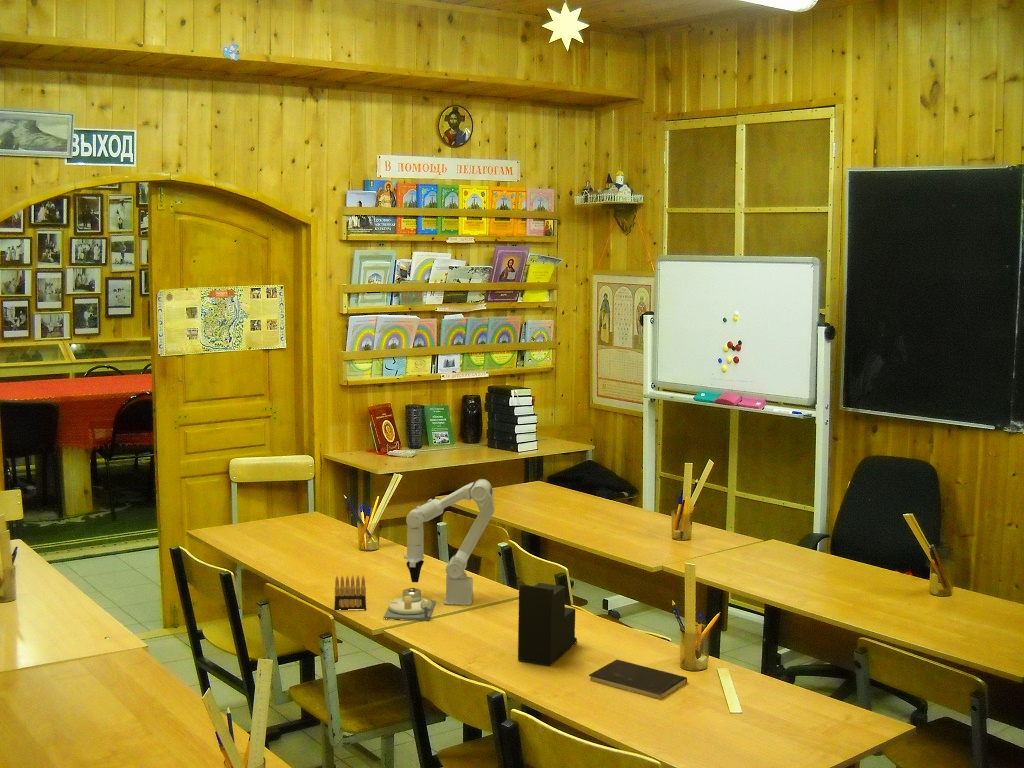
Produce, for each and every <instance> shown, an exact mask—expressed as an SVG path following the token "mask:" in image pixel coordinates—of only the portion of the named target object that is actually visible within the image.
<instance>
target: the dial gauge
mask: <svg viewBox="0 0 1024 768" xmlns="http://www.w3.org/2000/svg"><path fill="white" fill-rule="evenodd" d="M429 600H430V599H428V600H423V601H422V602H421V608H422V610H424V617H428V610H430V609H431V606H432V604H431V602H430V601H429Z"/></svg>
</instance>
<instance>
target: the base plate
mask: <svg viewBox="0 0 1024 768" xmlns="http://www.w3.org/2000/svg"><path fill="white" fill-rule="evenodd" d="M394 599H395V598H393V599H392V600H394ZM429 600H430V599H429ZM430 601H431V603H432V607H431V609H430V610H429V611H428V617H424V613H419V614H399V613H395V612H392V611H390V610H389V606H388V608H387V609H386V611H385V613H384V615H383V619H384V618H385V619H386V618H387V619H408V620H407V621H412V620H417V621H418V622H419V621H420V622H429V621H430V618H431V615H432V613H433V611H434V609H433V608H435V606H436V604H437V603H436V600H434V599H433V600H432V599H431V600H430Z"/></svg>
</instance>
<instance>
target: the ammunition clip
mask: <svg viewBox="0 0 1024 768" xmlns="http://www.w3.org/2000/svg"><path fill="white" fill-rule="evenodd" d="M338 576H339V575H336V577H335V580H334V582H335V585H334V605H333V606H334V607H333V608H334V609H333V610H339V609H341V610H348V609H366V610H367V598H366V597H367V595H366V594H367V592H366V591H367V590H366V579H365V576H364V574H363V575H362V577H361V580H360V576H359V575H356V579H355V577H354V575H352V576H351V579H350V578H349V576H348V575H346V578H345V579H344V576H343V575H341V577H340V580H339V577H338ZM355 580H356V581H355ZM360 581H361V582H360ZM355 583H356V584H355Z"/></svg>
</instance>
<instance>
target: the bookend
mask: <svg viewBox="0 0 1024 768" xmlns="http://www.w3.org/2000/svg"><path fill="white" fill-rule="evenodd" d="M517 626H518V629H517V631H518V633H517V634H518V635H517V640H518V641H517V661H519V662H521V661H522V662H525V663H526V662H527V663H532V664H540V665H545V666H551V665H553V664H554V663H555V662H556V661H557V660H559V658H561V657H562V656H563V655H564V654H565V653H566V652H567V651H569V650H570V649H571V648H572V647H573V646H574V645H575V644H576V643H578V638H577V637H576V608H572V607H567V606H566V586H564V585H559V584H557V585H556V584H549V583H543V582H538V583H536V584H535V585H530V584H521V583H519V584H518V625H517ZM575 642H576V643H575ZM574 643H575V644H574ZM573 644H574V645H573ZM572 645H573V646H572ZM571 646H572V647H571ZM569 648H570V649H569Z"/></svg>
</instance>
